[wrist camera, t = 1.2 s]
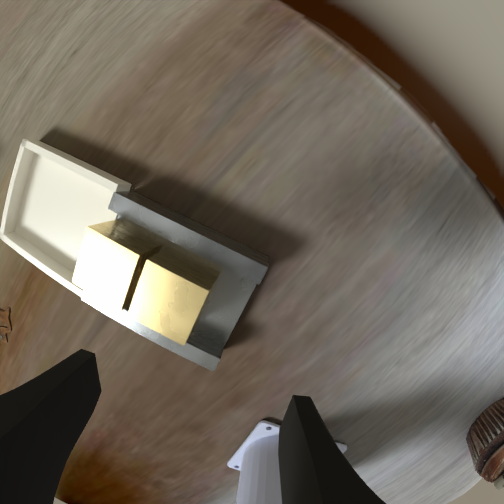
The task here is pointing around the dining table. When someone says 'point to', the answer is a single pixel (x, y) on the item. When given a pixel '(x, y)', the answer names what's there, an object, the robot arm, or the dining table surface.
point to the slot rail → (205, 251)
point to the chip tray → (55, 208)
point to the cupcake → (489, 444)
